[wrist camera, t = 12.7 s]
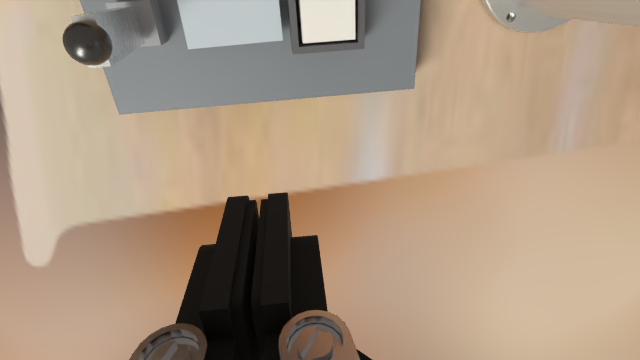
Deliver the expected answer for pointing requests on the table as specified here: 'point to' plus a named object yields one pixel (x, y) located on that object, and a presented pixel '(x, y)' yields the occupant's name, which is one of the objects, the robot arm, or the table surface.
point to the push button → (326, 20)
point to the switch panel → (261, 59)
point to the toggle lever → (103, 36)
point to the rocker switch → (230, 22)
